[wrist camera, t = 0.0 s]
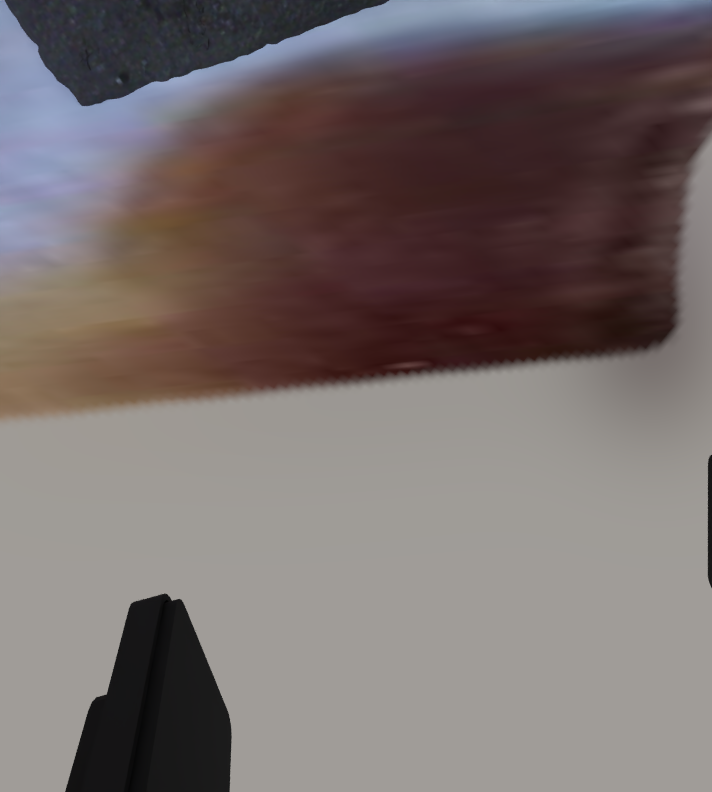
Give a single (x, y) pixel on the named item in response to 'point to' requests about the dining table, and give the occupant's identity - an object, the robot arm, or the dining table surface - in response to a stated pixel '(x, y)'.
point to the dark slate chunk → (159, 36)
